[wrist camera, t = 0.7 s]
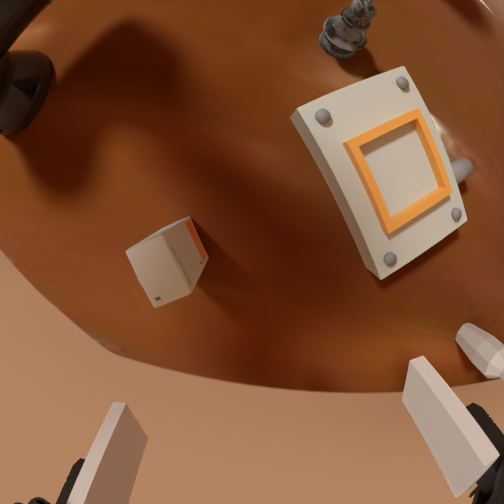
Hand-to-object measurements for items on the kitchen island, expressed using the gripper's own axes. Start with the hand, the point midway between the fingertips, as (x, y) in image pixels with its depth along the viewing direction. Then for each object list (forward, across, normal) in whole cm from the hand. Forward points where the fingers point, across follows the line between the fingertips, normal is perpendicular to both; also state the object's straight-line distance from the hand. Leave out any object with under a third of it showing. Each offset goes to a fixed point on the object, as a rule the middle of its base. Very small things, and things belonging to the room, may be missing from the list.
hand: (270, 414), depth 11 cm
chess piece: (+26, +16, +27) cm, 41 cm away
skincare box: (+26, -8, +3) cm, 27 cm away
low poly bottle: (+26, +37, -23) cm, 51 cm away
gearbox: (+26, +21, +9) cm, 34 cm away
